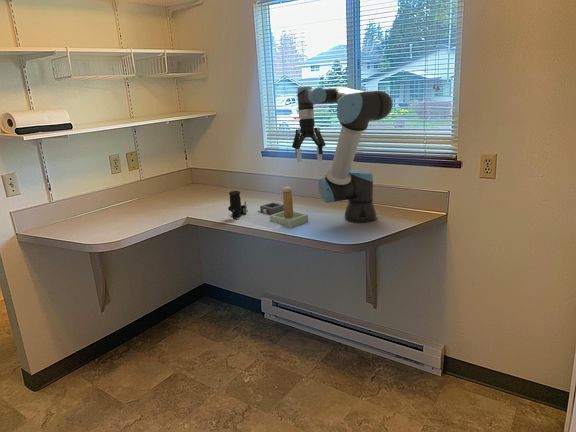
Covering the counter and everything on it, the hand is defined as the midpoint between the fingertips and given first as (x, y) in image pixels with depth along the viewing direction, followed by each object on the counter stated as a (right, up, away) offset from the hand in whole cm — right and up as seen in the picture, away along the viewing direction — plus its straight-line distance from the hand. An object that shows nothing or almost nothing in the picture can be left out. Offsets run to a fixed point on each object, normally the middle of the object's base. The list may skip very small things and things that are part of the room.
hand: (309, 161), depth 224 cm
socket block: (-19, -26, +7) cm, 33 cm away
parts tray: (-10, -30, -10) cm, 34 cm away
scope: (-36, -29, +1) cm, 46 cm away
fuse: (-10, -29, -10) cm, 33 cm away
